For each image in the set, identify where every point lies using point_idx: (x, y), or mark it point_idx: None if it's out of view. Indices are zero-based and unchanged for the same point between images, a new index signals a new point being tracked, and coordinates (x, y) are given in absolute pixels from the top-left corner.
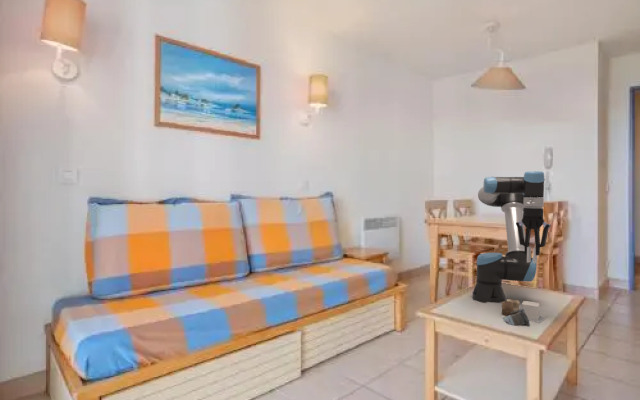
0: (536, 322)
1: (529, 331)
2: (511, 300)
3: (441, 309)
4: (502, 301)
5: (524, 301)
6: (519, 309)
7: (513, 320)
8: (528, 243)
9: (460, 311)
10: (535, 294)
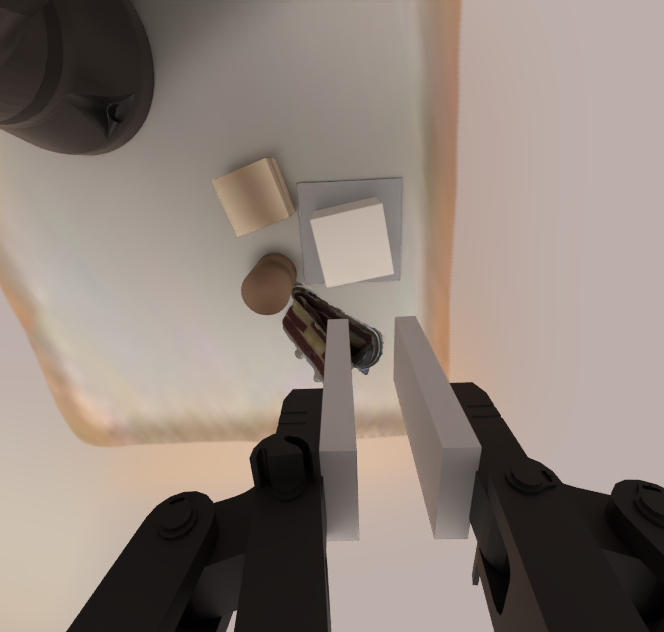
0: (387, 280)
1: (391, 369)
2: (239, 191)
3: (93, 384)
4: (241, 292)
5: (318, 234)
6: None
7: None
8: (311, 540)
9: (143, 354)
10: None
